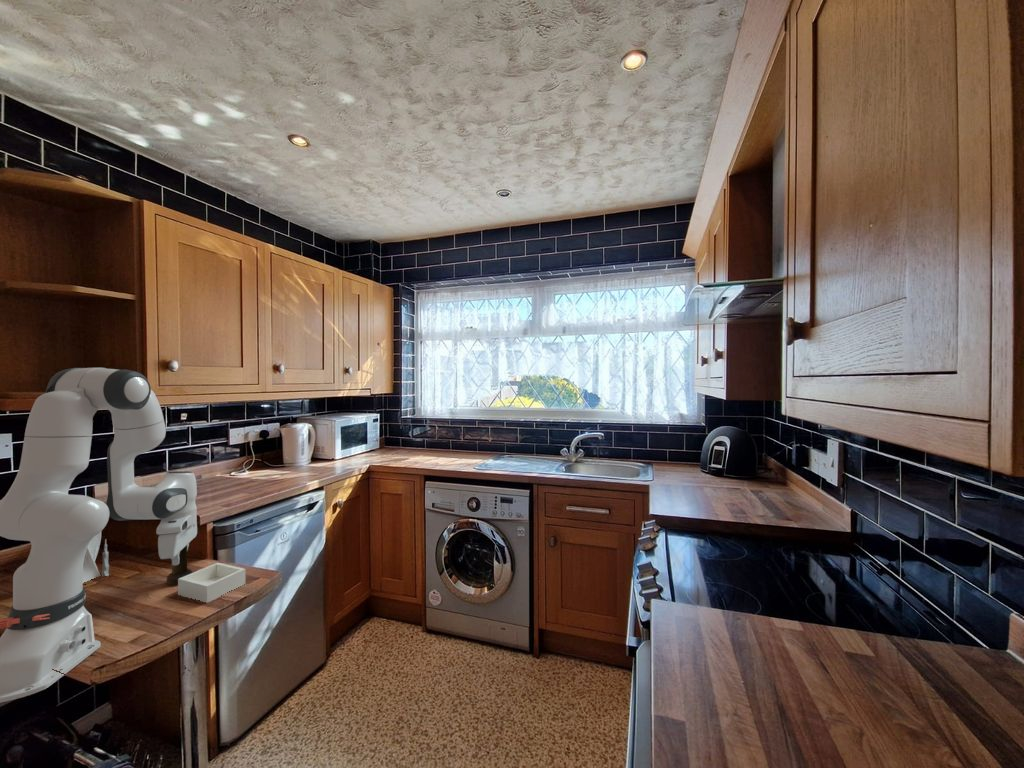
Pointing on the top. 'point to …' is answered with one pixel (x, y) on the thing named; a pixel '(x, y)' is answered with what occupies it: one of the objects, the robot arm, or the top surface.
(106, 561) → the skyscraper
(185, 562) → the dark brown tall piece
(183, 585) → the open rectangular tray
